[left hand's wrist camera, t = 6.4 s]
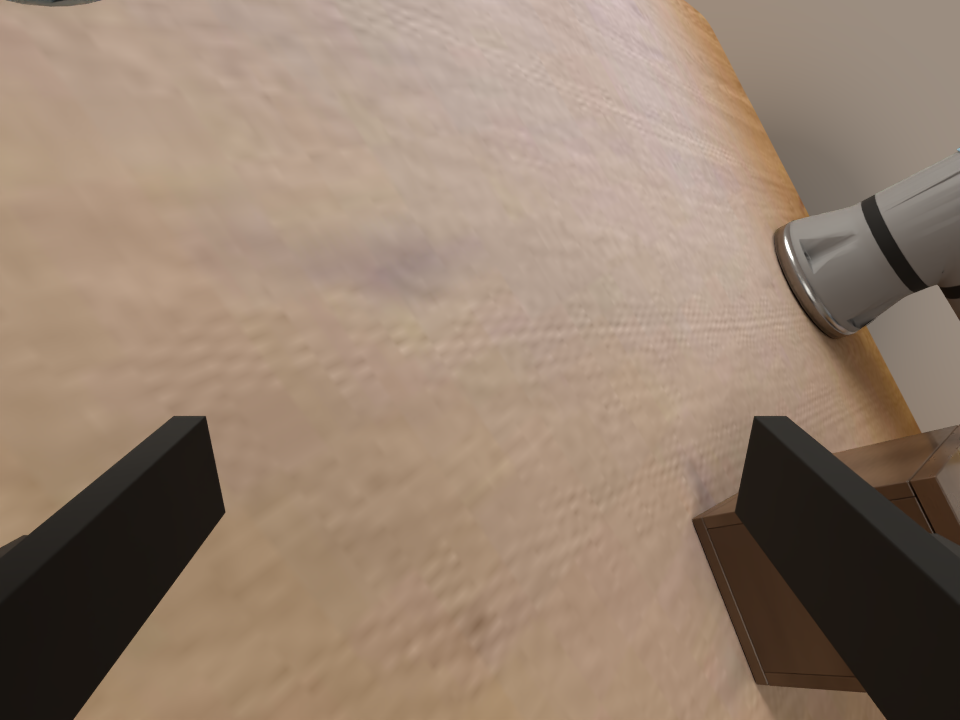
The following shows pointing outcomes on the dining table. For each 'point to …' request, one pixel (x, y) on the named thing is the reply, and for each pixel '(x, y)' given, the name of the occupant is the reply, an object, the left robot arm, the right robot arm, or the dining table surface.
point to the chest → (767, 597)
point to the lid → (942, 488)
